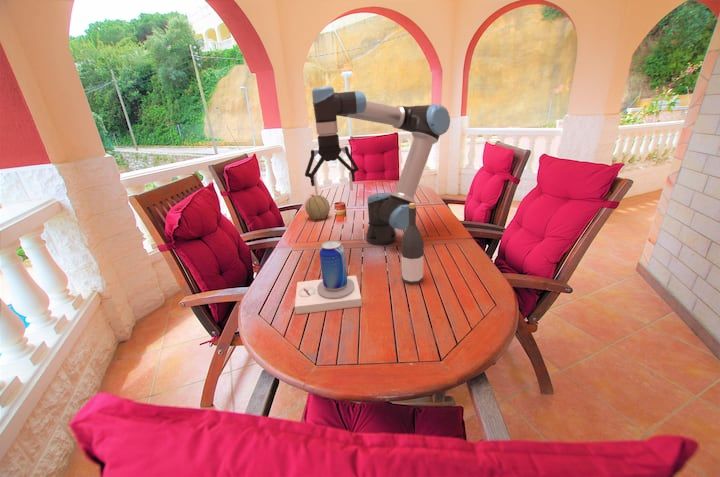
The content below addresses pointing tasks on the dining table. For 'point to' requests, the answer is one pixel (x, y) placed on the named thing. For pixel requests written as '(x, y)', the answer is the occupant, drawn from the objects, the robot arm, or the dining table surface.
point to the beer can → (333, 265)
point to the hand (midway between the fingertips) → (334, 192)
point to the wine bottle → (412, 251)
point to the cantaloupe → (317, 207)
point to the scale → (326, 296)
